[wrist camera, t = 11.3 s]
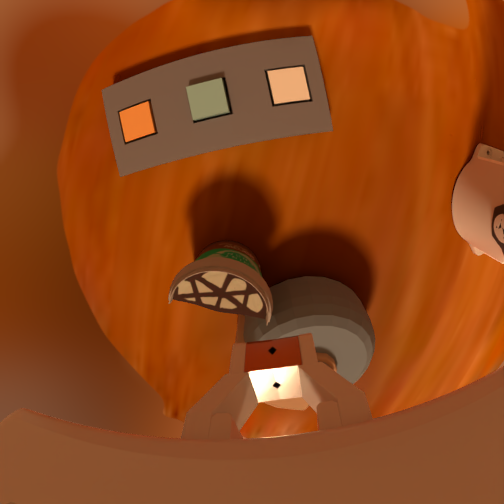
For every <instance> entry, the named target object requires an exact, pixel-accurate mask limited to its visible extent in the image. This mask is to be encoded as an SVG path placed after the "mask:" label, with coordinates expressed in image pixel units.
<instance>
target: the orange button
mask: <svg viewBox="0 0 504 504" xmlns="http://www.w3.org/2000/svg"><path fill="white" fill-rule="evenodd" d="M119 113H120V118H121V123H122V128H123V133H124V137H125V142H131V141H134V140H137V139H140V138H143V137H146V136H149V135H152V134H155V133H158V132H157V127H156V123H155V118H154V113H153V108H152V104H151V102H149V101H147V102H145V103H142V104H139V105H136V106H134V107H131V108H129V109H126V110H124V111H121V112H119Z"/></svg>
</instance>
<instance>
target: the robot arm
mask: <svg viewBox="0 0 504 504" xmlns="http://www.w3.org/2000/svg"><path fill="white" fill-rule="evenodd" d="M452 215H453V221H454V224H455V227H456V229H457V231H458V233H459V234H460V236H461V237H462V238H463V239H465V240H466V241H467V242H468V243H469V244H470V246H471V249H472V251H473V253H474V254H476V255H482V254H483V253H485V254H487V255H488V256H490V257H492V258H493V259H495V260H497V261H498V262H500V263H502V264H504V151H502V150H499V149H496V148H494V147H491V146H488V145H485V144H482V143H479V144H478V145H477V147H476V149H475V152H474V154H473V157H472V159H471V160H470V162H469V163H468V164H467V165H466V166H465V167H464V168H463V170H462V171H461V173H460V175H459V177H458V179H457V182H456V185H455V188H454V192H453V199H452ZM297 397H302V398H303V399H304V400H305V401H306V402H307V403H308V404H309V405H310V406H311V407H312V408H313V409H314V410H315V411H316V413H317V423H318V431H314V432H308V433H301V434H294V435H286V436H276V437H265V438H251V439H243V437H242V435H241V433H240V429H241V428H242V426H243V425H244V424H245V422H246V421H247V419H248V418H249V416H250V415H251V413H252V412H253V410H254V409H255V407H256V406H257V405H258V402H265V401H272V400H279V399H289V398H297ZM0 504H504V366H503V367H501V368H500V369H498V370H496V371H494V372H492V373H490V374H488V375H487V376H485V377H483V378H481V379H479V380H477V381H475V382H473V383H471V384H468V385H466V386H464V387H462V388H460V389H457V390H455V391H453V392H451V393H448V394H446V395H443V396H441V397H438V398H436V399H433V400H431V401H428V402H425V403H423V404H420V405H417V406H414V407H411V408H408V409H405V410H402V411H399V412H396V413H393V414H389V415H386V416H382V417H379V418H375V419H372V416H371V412H370V409H369V406H368V402H367V399H366V396H365V393H364V392H363V391H361V390H360V389H359V388H357V387H356V386H354V385H353V384H352V383H350V382H349V381H347V380H346V379H345V378H343V377H342V376H341V375H339V374H338V373H336V372H335V371H334V370H332V369H331V368H330V367H328V366H327V365H326V364H324V363H323V362H318V360H317V355H316V350H315V346H314V341H313V336H312V334H311V333H307V334H301V335H297V336H291V337H285V338H279V339H272V340H263V341H254V342H247V343H236V344H234V345H233V346H232V354H231V362H230V370H229V374H225V375H224V376H223V377H222V378H221V379H220V380H219V381H218V382H217V383H216V384H215V385H214V386H213V387H212V388H211V389H210V390H209V391H208V392H207V393H206V394H205V395H204V396H203V397H202V398H201V399H200V400H199V401H198V402H197V403H196V404H195V405H194V406H193V407H192V408H191V409H190V410H189V411H188V412H187V414H186V419H185V423H184V427H183V432H182V436H181V439H178V438H165V437H154V436H144V435H136V434H129V433H122V432H116V431H109V430H105V429H99V428H94V427H90V426H85V425H81V424H77V423H73V422H69V421H65V420H61V419H58V418H54V417H51V416H48V415H44V414H41V413H38V412H35V411H32V410H29V409H25V408H21V409H18V410H16V411H15V412H13V413H12V414H10V415H9V416H7V417H6V418H5V419H4V420H2V421H1V422H0Z"/></svg>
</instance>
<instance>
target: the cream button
mask: <svg viewBox="0 0 504 504" xmlns="http://www.w3.org/2000/svg"><path fill="white" fill-rule="evenodd" d="M267 76H268V81H269V85H270V90H271V95H272V99H273V104H274V105H280V104H287V103H294V102H302V101H308V100H309V99H310V97H309V92H308V87H307V83H306V78H305V74H304V69H303V67H295V68H287V69H279V70H272V71H267Z"/></svg>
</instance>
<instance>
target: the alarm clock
mask: <svg viewBox="0 0 504 504" xmlns="http://www.w3.org/2000/svg"><path fill="white" fill-rule="evenodd" d="M269 289H270V291H271V294H272V299H273V311H272V316H271V319H270V322H268V325H266V319H261V318H256V317H251V316H246V315H241V314H239V316H238V324H237V333H236V341H235V344H236V343H247V342H254V341H263V340H272V339H279V338H285V337H291V336H297V335H301V334H307V333H311V334H312V336H313V341H314V346H315V350H316V355H317V360H318V362H323V363H324V364H326V365H327V366H328V367H330V368H331V369H332V370H334V371H335V372H336V373H338V374H339V375H341V376H342V377H343V378H345V379H346V380H347V381H349V382H350V383H352V384H354V383H355V382H356V381H357V380H358V379H359V378H360V377H361V376H362V375H363V373H364V372H365V371H366V370H367V368H368V366H369V363H370V361H371V359H372V356H373V353H374V348H375V335H374V330H373V327H372V324H371V321H370V318H369V316H368V314H367V312H366V310H365V308H364V306H363V304H362V302H361V300H360V299H359V298H358V297H357V295H356V294H355V293H354V292H353V290H352V289H350V288H349V287H347V286H346V285H344V284H342V283H341V282H339V281H336V280H332V279H329V278H326V277H314V276H304V277H299V278H294V279H288V280H286V281H283V282H281V283H279V284H276V285H274V286H272V287H270V288H269ZM264 403H266V404H269V405H272V406H274V407H277V408H286V409H295V410H305V409H306V408H307V407H308V406H309V404H308V403H307V402H306V401H305V400H304V399H303V398H302V397H297V398H289V399H279V400H272V401H265V402H264Z"/></svg>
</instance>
